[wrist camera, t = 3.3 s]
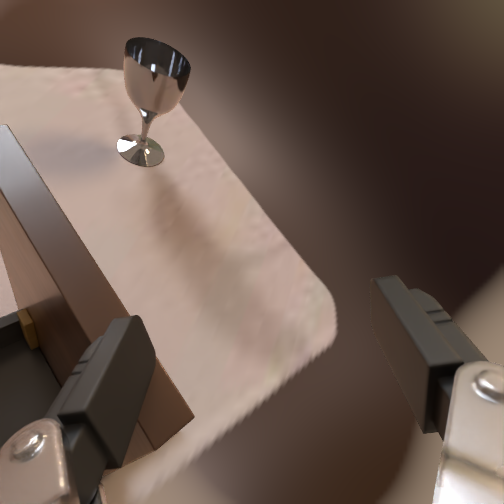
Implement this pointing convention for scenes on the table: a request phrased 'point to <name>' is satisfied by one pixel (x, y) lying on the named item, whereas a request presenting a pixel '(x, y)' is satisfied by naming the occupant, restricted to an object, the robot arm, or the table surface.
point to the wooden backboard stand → (59, 310)
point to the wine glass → (151, 92)
